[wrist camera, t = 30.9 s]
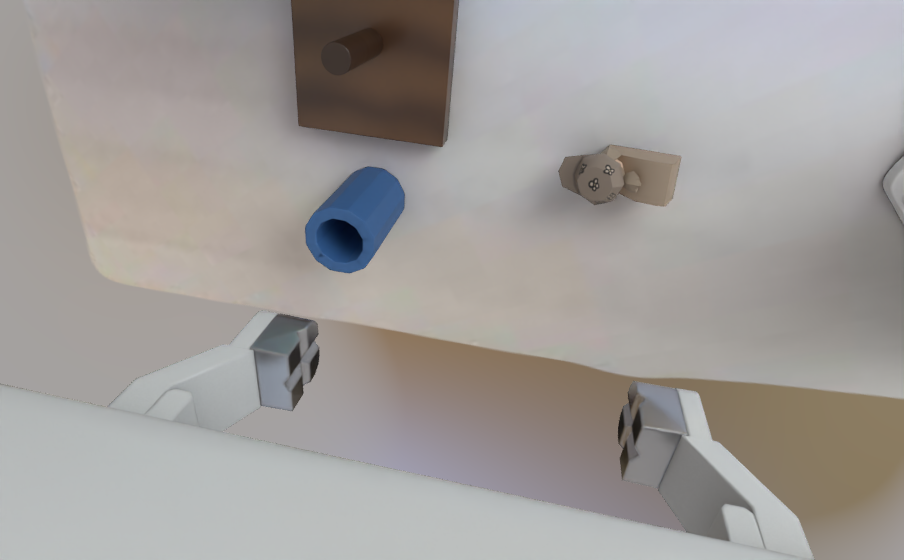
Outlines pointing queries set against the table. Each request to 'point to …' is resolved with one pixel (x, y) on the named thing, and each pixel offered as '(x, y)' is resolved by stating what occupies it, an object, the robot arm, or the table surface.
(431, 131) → the platform
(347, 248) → the blue faceted hollow tube
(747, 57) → the table surface
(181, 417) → the robot arm
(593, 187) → the toy character
